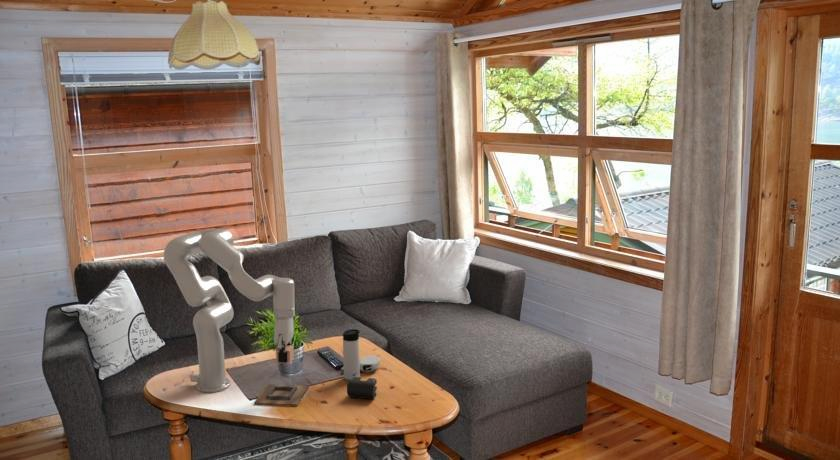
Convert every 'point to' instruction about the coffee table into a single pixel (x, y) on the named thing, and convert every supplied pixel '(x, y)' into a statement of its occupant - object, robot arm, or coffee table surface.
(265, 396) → the holder board
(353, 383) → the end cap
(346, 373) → the travel mug
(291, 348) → the terracotta cube
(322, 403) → the coffee table surface
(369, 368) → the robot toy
